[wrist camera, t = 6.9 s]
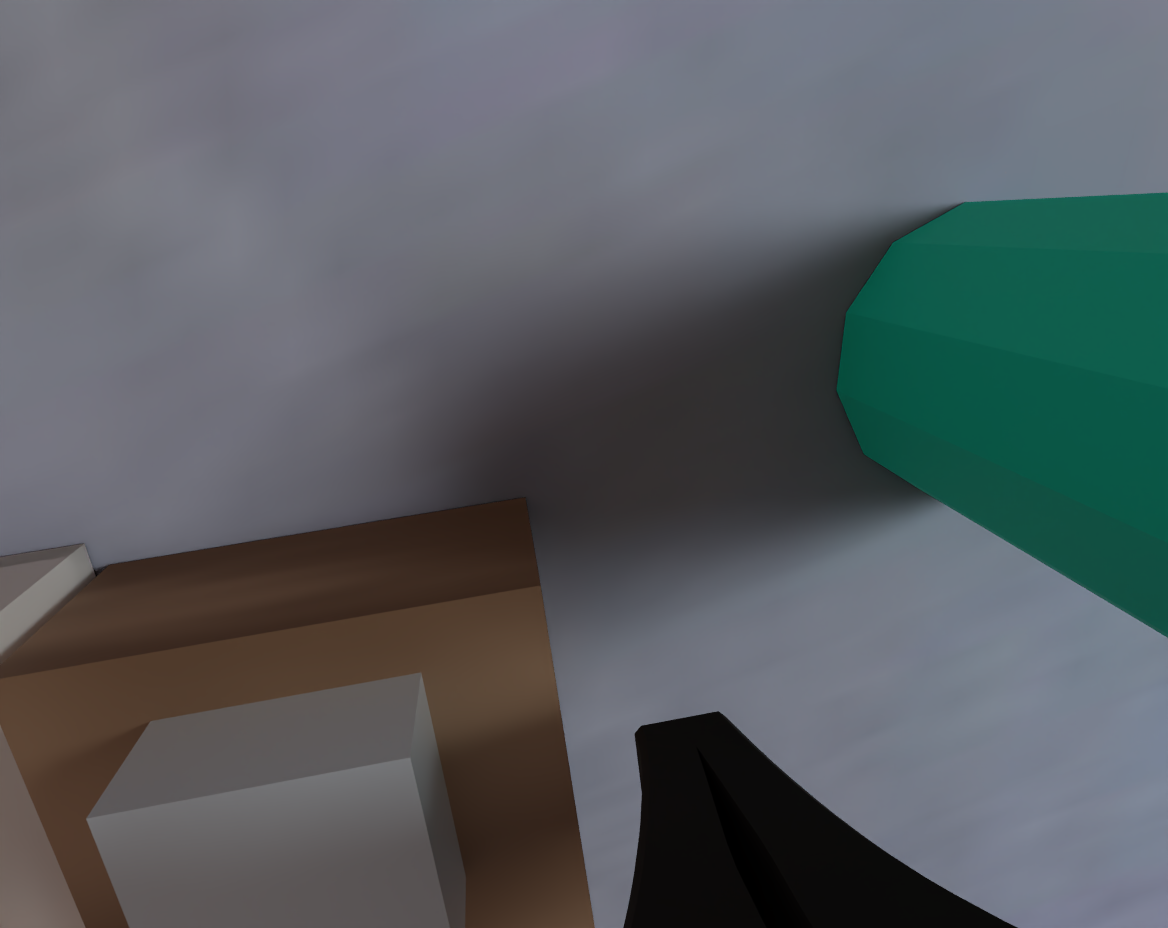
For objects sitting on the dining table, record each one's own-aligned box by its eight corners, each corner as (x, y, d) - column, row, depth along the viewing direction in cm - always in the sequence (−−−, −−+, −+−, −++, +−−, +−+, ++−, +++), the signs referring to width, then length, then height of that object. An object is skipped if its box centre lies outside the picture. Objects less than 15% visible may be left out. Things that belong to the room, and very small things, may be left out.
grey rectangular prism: (465, 877, 13) (463, 988, 11) (222, 926, 13) (177, 1049, 11) (421, 672, 12) (410, 757, 10) (150, 721, 12) (86, 818, 10)
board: (596, 950, 19) (626, 1129, 15) (266, 1021, 18) (211, 1226, 15) (525, 497, 15) (540, 585, 12) (108, 564, 15) (-19, 681, 11)
